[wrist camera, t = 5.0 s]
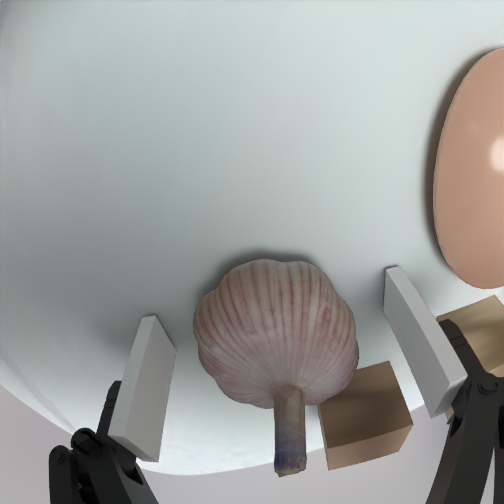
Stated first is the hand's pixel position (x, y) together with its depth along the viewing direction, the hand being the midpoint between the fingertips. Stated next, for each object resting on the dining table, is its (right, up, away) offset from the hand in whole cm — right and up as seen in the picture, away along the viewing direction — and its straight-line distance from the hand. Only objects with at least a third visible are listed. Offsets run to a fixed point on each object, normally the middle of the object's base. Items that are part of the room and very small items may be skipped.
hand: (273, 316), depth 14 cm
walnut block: (+6, -6, +5) cm, 10 cm away
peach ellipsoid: (+13, +7, -4) cm, 15 cm away
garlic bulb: (0, 0, 0) cm, 1 cm away
